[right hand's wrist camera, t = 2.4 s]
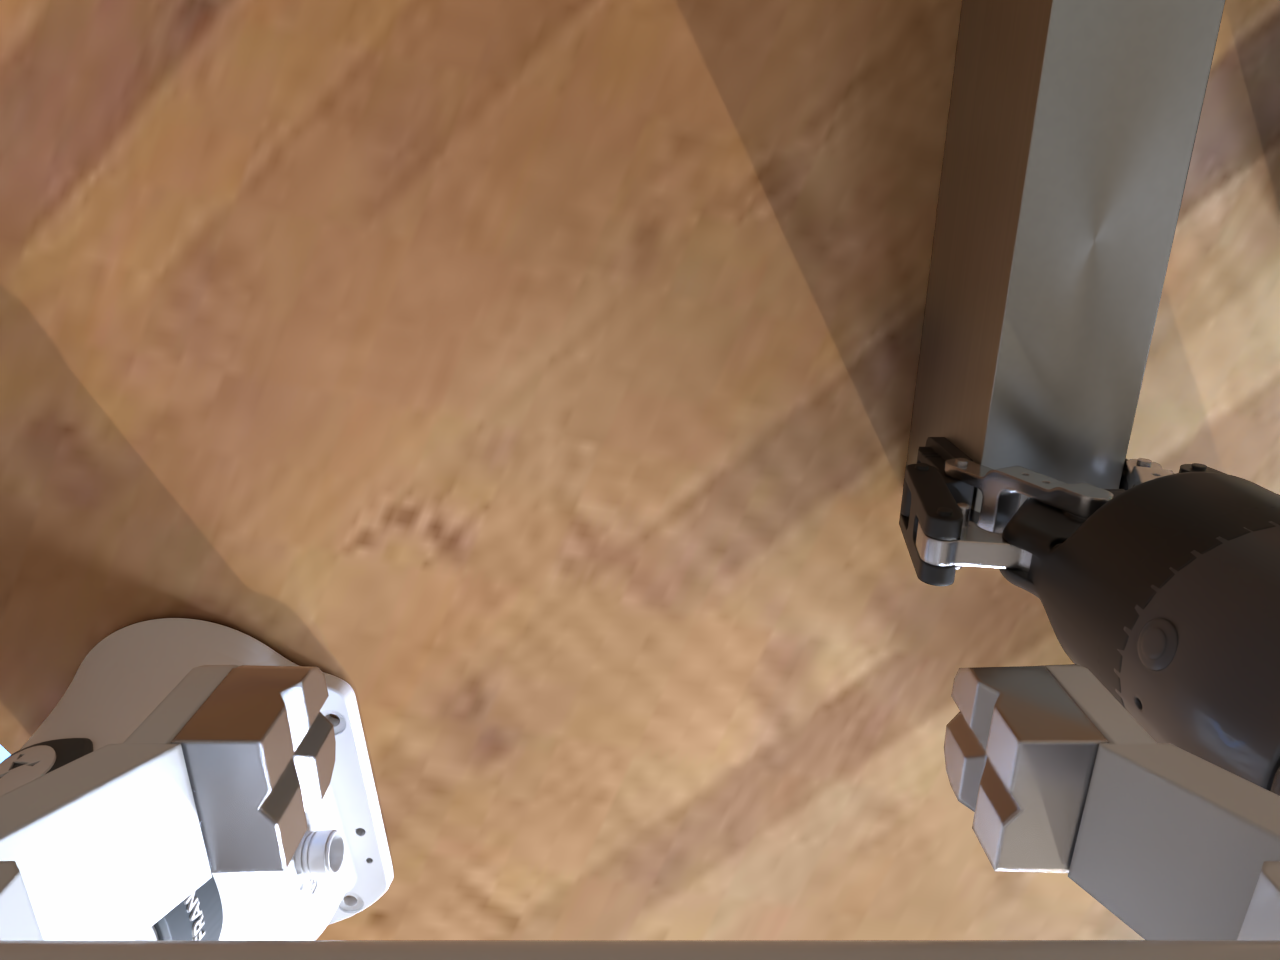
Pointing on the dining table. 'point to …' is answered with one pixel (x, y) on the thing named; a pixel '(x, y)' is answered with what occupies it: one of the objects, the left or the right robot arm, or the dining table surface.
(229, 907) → the right robot arm
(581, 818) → the dining table surface
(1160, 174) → the bar
